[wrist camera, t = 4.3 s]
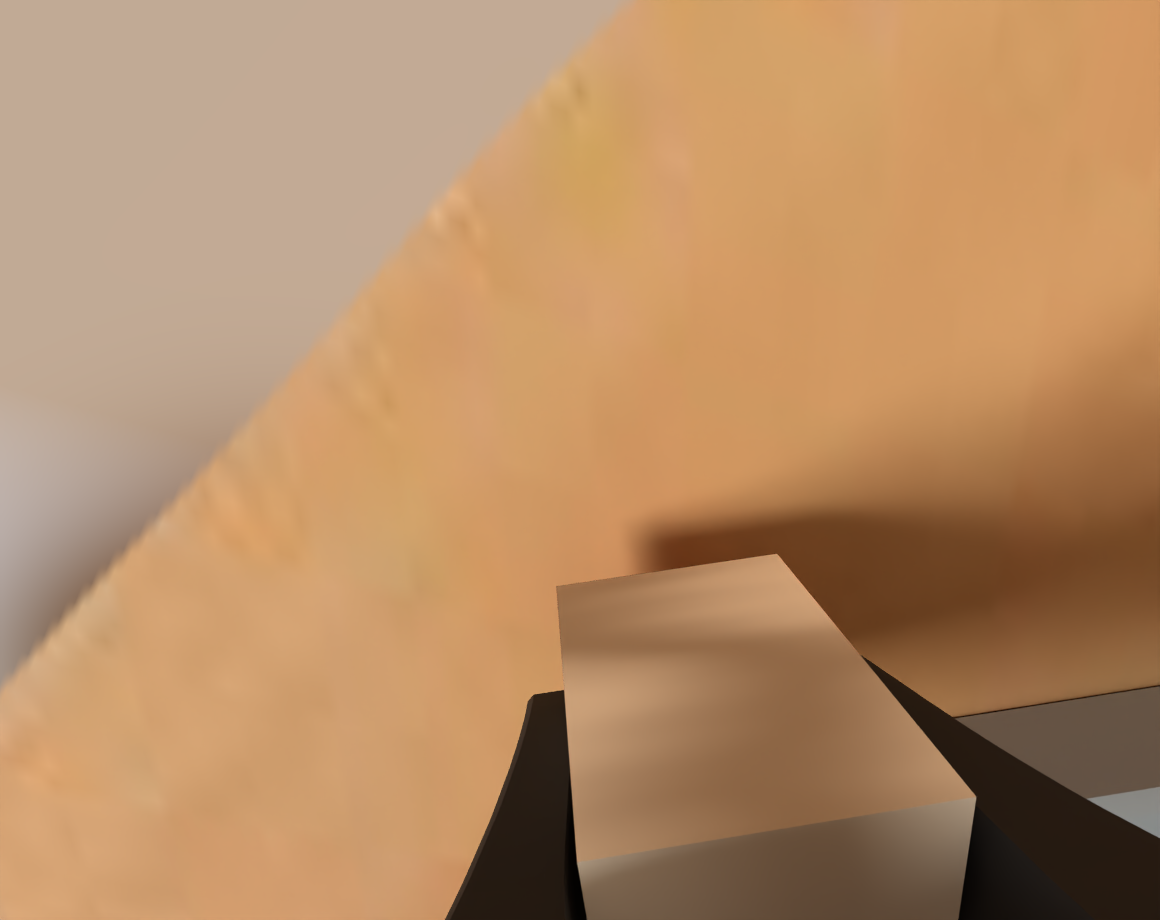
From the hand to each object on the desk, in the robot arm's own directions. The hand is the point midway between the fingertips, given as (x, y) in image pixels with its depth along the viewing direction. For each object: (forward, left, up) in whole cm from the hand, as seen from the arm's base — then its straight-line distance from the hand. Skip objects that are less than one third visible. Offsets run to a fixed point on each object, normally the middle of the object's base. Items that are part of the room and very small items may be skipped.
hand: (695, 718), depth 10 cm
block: (0, 0, -1) cm, 1 cm away
